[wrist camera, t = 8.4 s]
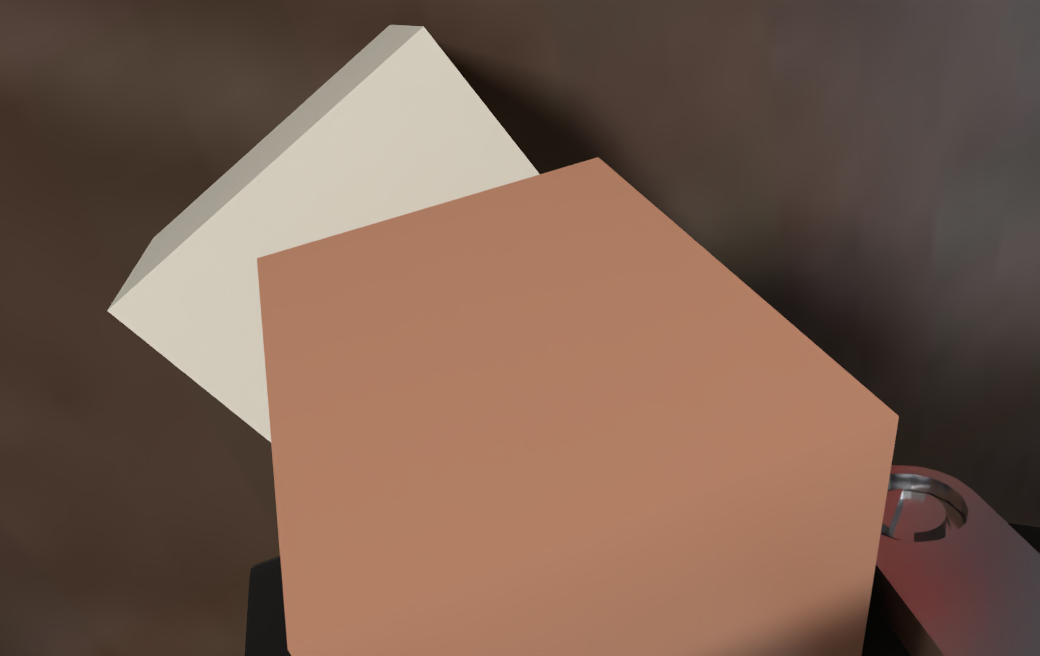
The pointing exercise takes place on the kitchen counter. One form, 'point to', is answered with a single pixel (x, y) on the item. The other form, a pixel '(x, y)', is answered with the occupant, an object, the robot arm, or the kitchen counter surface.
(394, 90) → the cream brick
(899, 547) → the robot arm
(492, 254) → the terracotta brick
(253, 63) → the kitchen counter surface
